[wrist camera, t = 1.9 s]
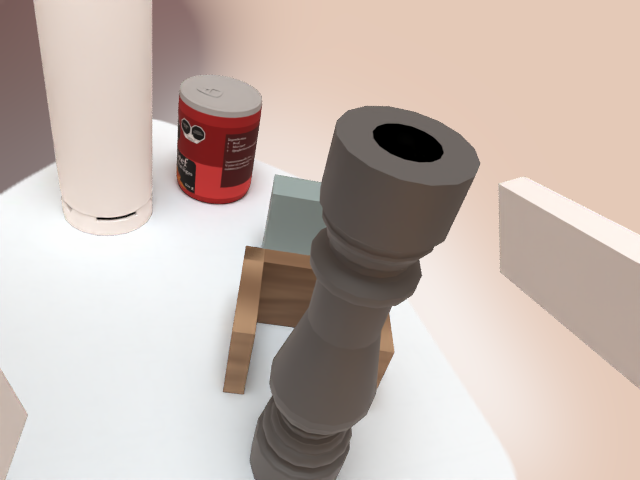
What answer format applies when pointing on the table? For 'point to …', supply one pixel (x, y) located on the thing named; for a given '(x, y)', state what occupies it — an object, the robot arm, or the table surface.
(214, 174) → the canned food
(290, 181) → the block
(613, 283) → the robot arm
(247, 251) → the cradle
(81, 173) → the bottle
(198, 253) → the table surface
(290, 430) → the candle holder
